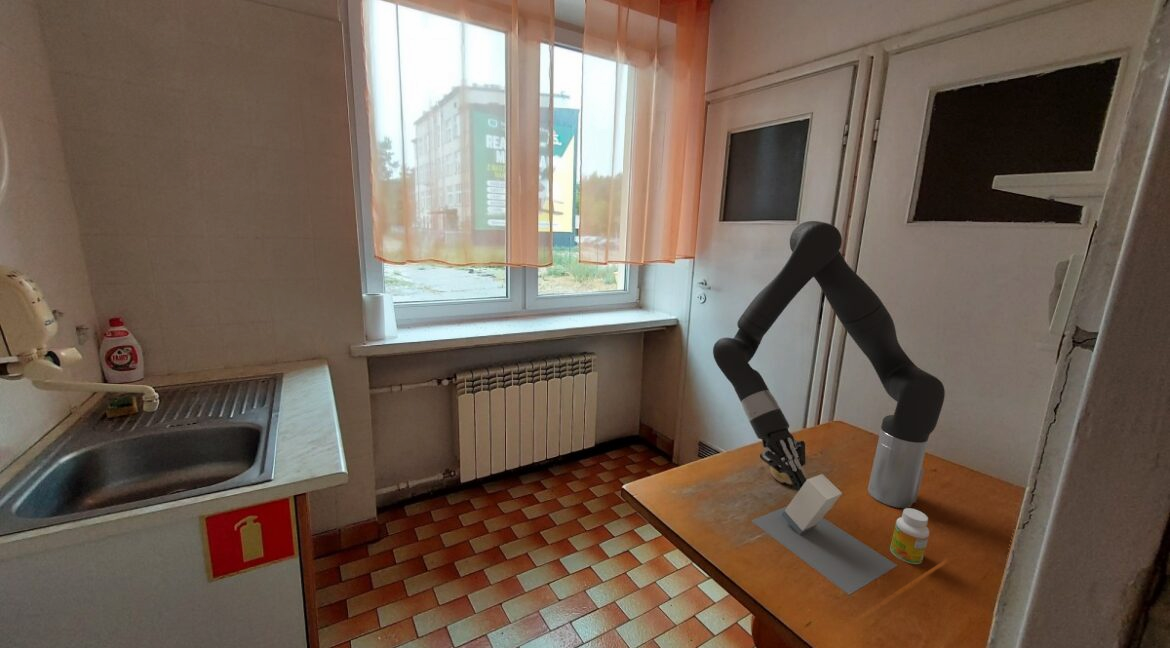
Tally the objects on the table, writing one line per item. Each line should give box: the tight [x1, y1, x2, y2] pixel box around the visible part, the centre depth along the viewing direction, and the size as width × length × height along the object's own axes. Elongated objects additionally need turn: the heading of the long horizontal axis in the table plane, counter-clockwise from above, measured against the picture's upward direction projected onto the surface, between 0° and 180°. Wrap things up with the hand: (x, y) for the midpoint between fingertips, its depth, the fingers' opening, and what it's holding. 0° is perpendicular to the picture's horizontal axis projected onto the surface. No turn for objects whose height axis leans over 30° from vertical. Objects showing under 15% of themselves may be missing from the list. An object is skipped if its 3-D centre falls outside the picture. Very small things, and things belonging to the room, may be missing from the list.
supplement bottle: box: [889, 507, 930, 565], centre depth 88 cm, size 5×5×10 cm
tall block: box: [782, 473, 843, 535], centre depth 93 cm, size 5×5×12 cm
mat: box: [750, 505, 898, 596], centre depth 91 cm, size 22×16×1 cm
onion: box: [769, 458, 805, 486], centre depth 114 cm, size 8×8×7 cm
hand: (803, 489), depth 94 cm, fingers closed
